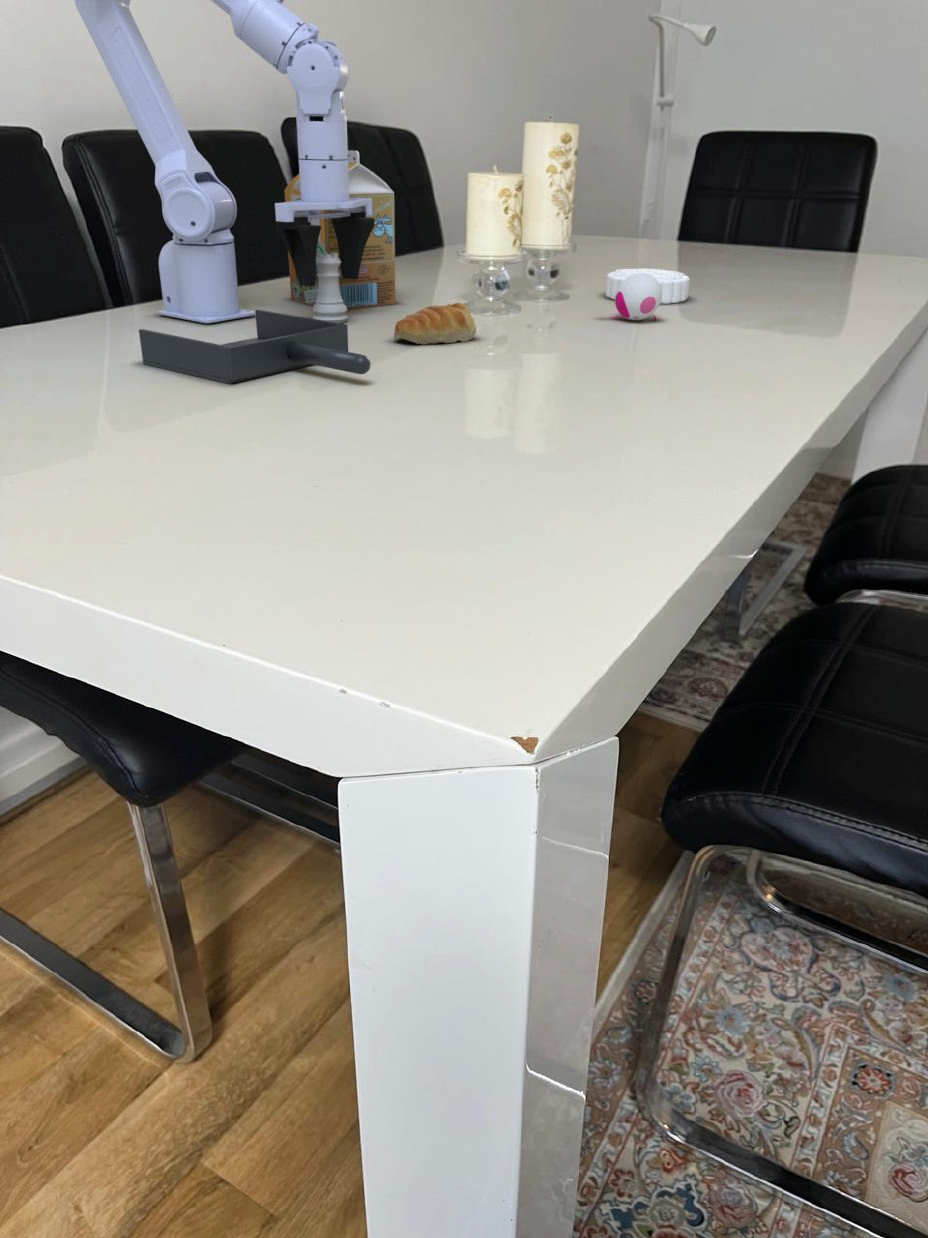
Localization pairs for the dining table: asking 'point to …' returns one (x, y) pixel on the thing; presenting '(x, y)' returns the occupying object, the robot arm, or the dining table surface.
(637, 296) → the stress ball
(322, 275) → the rook chess piece
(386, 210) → the milk carton
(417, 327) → the pastry
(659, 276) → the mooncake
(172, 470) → the dining table surface
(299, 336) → the scoop
